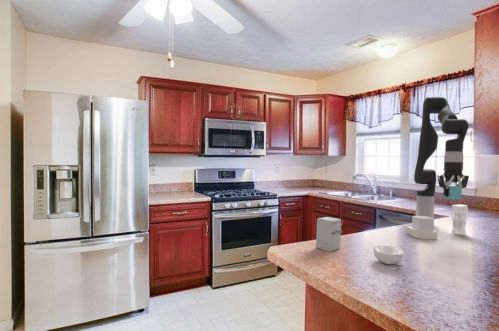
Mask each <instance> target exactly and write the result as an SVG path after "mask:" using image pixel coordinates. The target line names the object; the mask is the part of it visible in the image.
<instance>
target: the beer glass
mask: <svg viewBox="0 0 499 331" xmlns="http://www.w3.org/2000/svg"><path fill="white" fill-rule="evenodd" d="M468 207H469V206H468V205H465V204H452V208H451V220H452V221H451V222H452V231H451V234H453V235H457V236H467V231H466V230H467V229H466V227H467V226H466V225H467V221H468V217H469V216H468V215H469V209H468Z"/></svg>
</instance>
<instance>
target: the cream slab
mask: <svg viewBox="0 0 499 331" xmlns="http://www.w3.org/2000/svg"><path fill="white" fill-rule="evenodd" d="M405 230H406V232H405V234H406V233H407V235H408V234H409V236H410V235H411V237H412V236H413V238H414V237H415V238H414V239H416V238H426V239H425V240H438V231H437V230H435V229H434V231H419V230H417V229H415V228H412V226H406V228H405Z"/></svg>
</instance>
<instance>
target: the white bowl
mask: <svg viewBox="0 0 499 331" xmlns="http://www.w3.org/2000/svg"><path fill="white" fill-rule="evenodd" d="M372 249H373V255H374V257H375V259H377V261H379V262H381V263H383V264H384V265H395V264H396V265H397V264H399V263H401V262H402V260H403V256H404V250H403V249H401V248H399V247H398V246H393V245H389V244H388V245H385V244H384V245H383V244H382V245H375V246H373V247H372Z"/></svg>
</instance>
